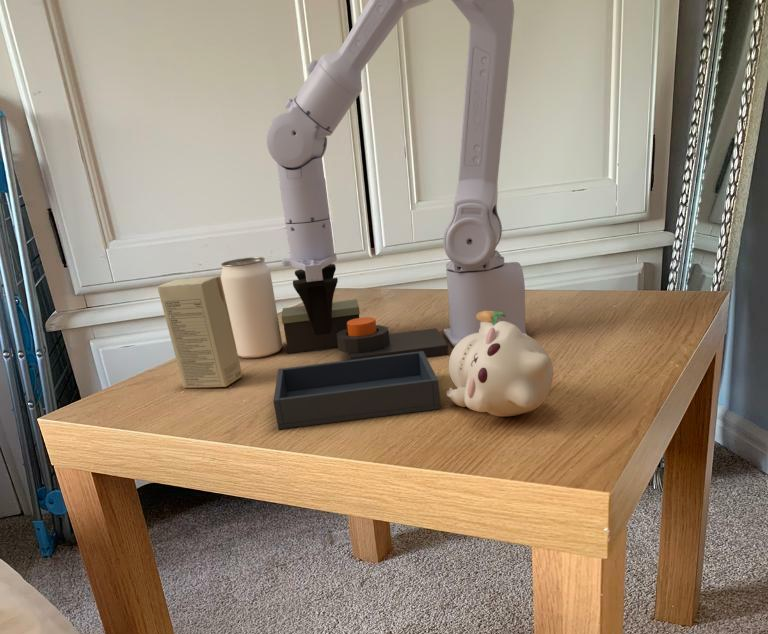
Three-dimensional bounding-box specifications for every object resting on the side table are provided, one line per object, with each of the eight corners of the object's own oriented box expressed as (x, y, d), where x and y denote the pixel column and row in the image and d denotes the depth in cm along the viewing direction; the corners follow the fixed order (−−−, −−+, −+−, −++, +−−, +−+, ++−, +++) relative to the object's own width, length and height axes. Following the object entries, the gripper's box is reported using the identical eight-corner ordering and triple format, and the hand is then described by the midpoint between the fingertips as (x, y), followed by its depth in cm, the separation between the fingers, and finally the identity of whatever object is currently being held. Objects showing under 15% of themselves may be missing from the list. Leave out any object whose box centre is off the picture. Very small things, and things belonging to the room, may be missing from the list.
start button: (375, 329, 96) (374, 315, 95) (378, 336, 93) (376, 322, 92) (347, 333, 96) (346, 319, 95) (349, 339, 93) (347, 325, 92)
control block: (437, 336, 100) (436, 314, 99) (448, 354, 92) (446, 330, 91) (338, 349, 100) (335, 326, 98) (340, 367, 92) (337, 343, 90)
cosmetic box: (244, 377, 92) (224, 274, 87) (226, 388, 89) (204, 282, 83) (199, 377, 94) (176, 277, 89) (180, 388, 91) (155, 284, 85)
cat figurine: (452, 299, 75) (526, 305, 62) (517, 329, 79) (600, 341, 65) (417, 389, 77) (481, 414, 63) (481, 414, 80) (555, 444, 67)
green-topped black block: (361, 335, 105) (356, 299, 103) (363, 344, 101) (358, 306, 98) (288, 344, 105) (282, 308, 103) (287, 353, 100) (281, 316, 98)
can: (274, 358, 99) (257, 263, 93) (228, 360, 100) (209, 267, 95) (289, 344, 104) (274, 254, 99) (245, 347, 106) (229, 258, 101)
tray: (425, 376, 85) (423, 350, 83) (440, 409, 75) (438, 379, 73) (282, 394, 84) (278, 368, 83) (278, 429, 74) (273, 400, 73)
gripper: (278, 218, 102) (294, 319, 108) (273, 230, 89) (291, 344, 95) (330, 212, 102) (342, 313, 108) (333, 223, 89) (346, 337, 95)
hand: (322, 327), depth 102 cm, fingers open, 7 cm apart
